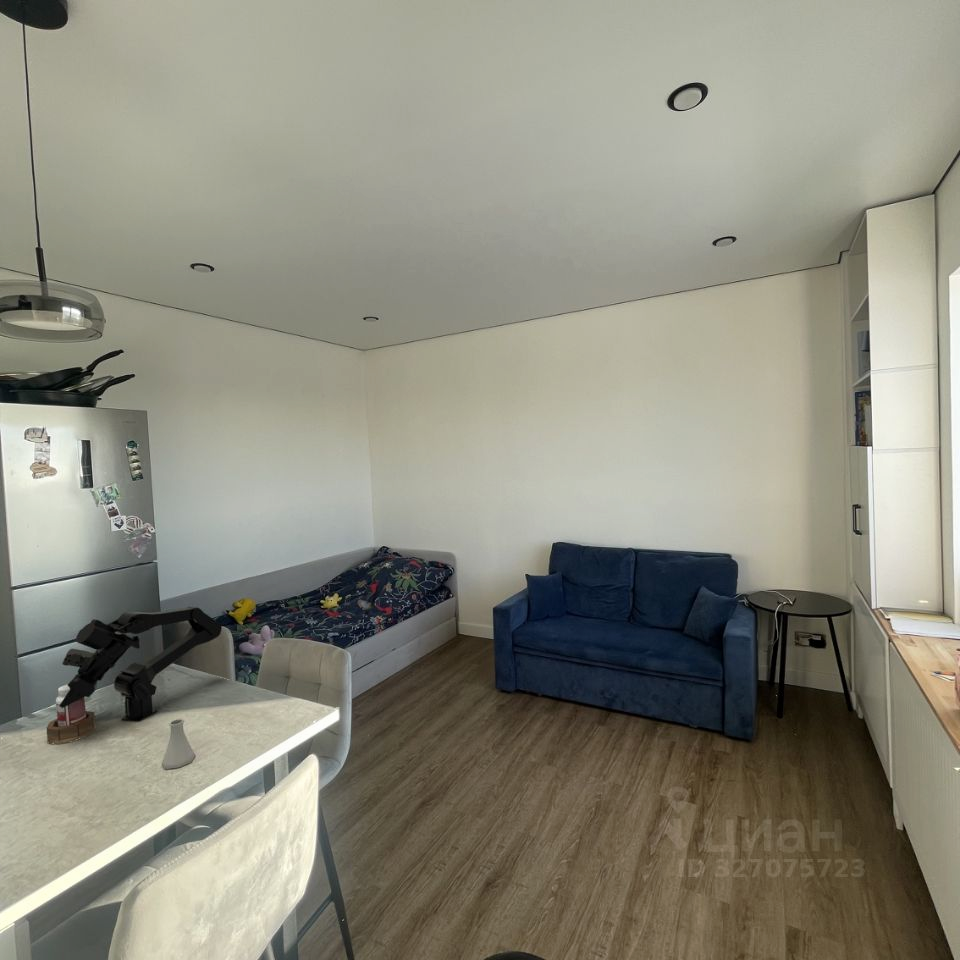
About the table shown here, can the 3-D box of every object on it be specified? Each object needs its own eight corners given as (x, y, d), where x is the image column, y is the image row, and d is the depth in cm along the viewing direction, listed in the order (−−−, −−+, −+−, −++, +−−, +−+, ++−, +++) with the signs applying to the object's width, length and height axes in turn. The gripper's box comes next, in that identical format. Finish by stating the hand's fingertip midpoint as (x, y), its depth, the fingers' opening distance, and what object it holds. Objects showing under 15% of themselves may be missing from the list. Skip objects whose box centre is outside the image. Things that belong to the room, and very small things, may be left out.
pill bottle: (89, 717, 146) (86, 679, 146) (83, 727, 141) (80, 688, 140) (61, 723, 143) (58, 684, 143) (55, 733, 138) (51, 693, 137)
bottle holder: (104, 726, 146) (104, 712, 146) (67, 746, 136) (67, 731, 136) (76, 723, 148) (75, 709, 148) (37, 742, 138) (36, 728, 138)
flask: (160, 773, 122) (157, 732, 121) (162, 758, 128) (160, 719, 128) (195, 764, 125) (192, 723, 125) (195, 750, 131) (193, 711, 131)
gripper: (91, 629, 151) (46, 674, 147) (75, 648, 134) (24, 700, 130) (125, 649, 155) (82, 694, 150) (113, 671, 138) (65, 722, 134)
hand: (64, 702), depth 141 cm, fingers closed on pill bottle, 6 cm apart
